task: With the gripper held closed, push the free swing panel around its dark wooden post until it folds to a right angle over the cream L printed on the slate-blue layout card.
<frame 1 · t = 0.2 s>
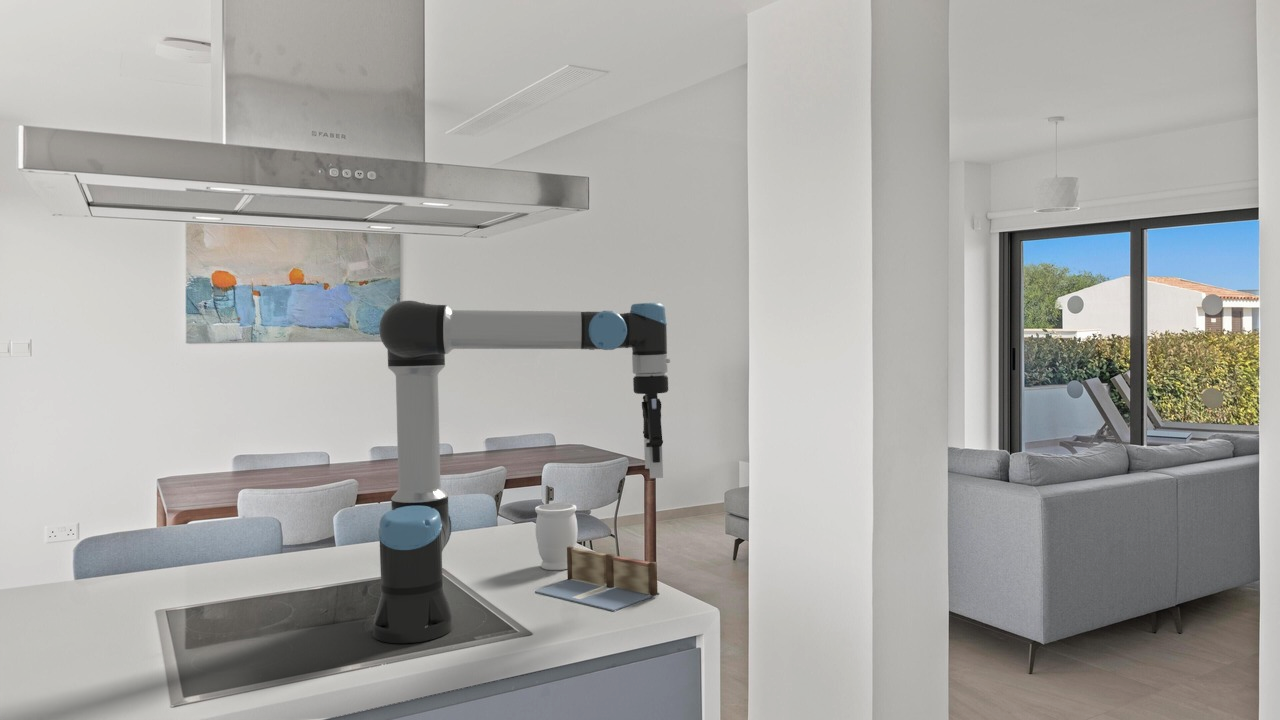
hand: (653, 473, 188), 27 cm above the counter, fingers open, 13 cm apart
jar: (557, 567, 217), on the counter
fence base: (610, 587, 197), resting on layout card
swing panel: (635, 574, 192), point 4 cm above the counter, hinge at 0.0°
layout card: (610, 587, 197), on the counter
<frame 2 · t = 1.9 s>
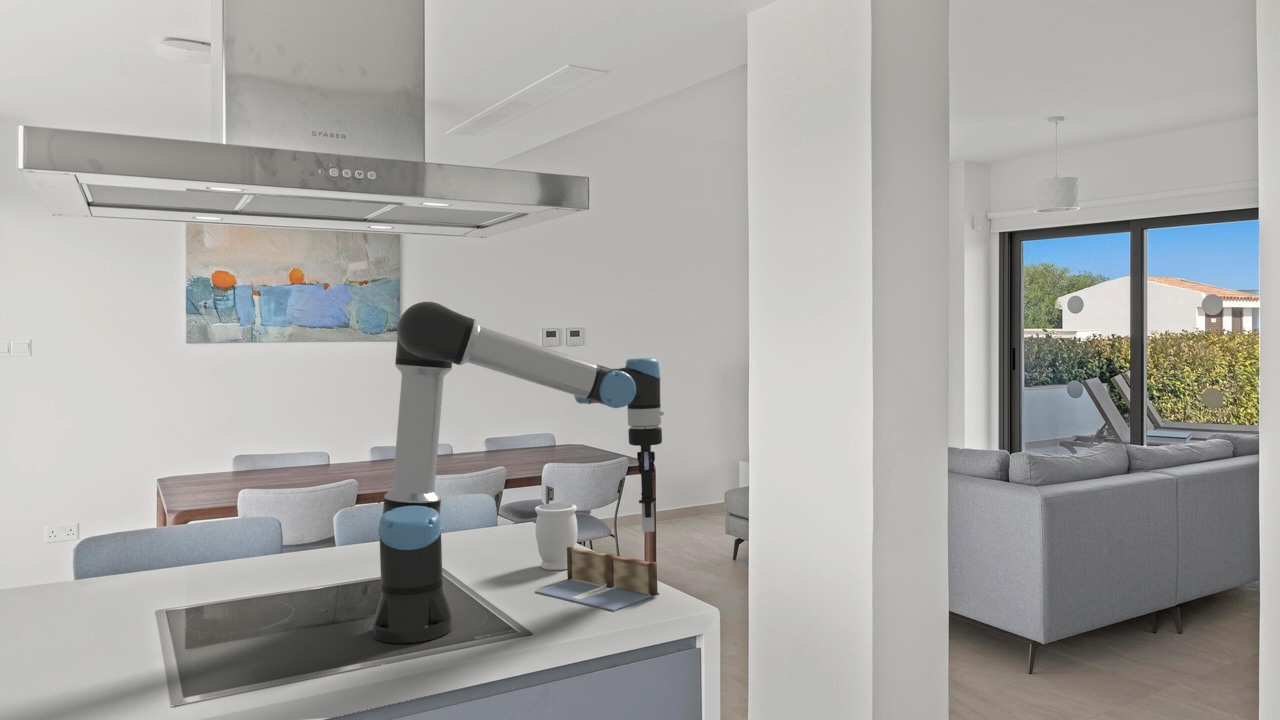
hand: (648, 530, 197), 13 cm above the counter, fingers closed
nothing on the counter moved.
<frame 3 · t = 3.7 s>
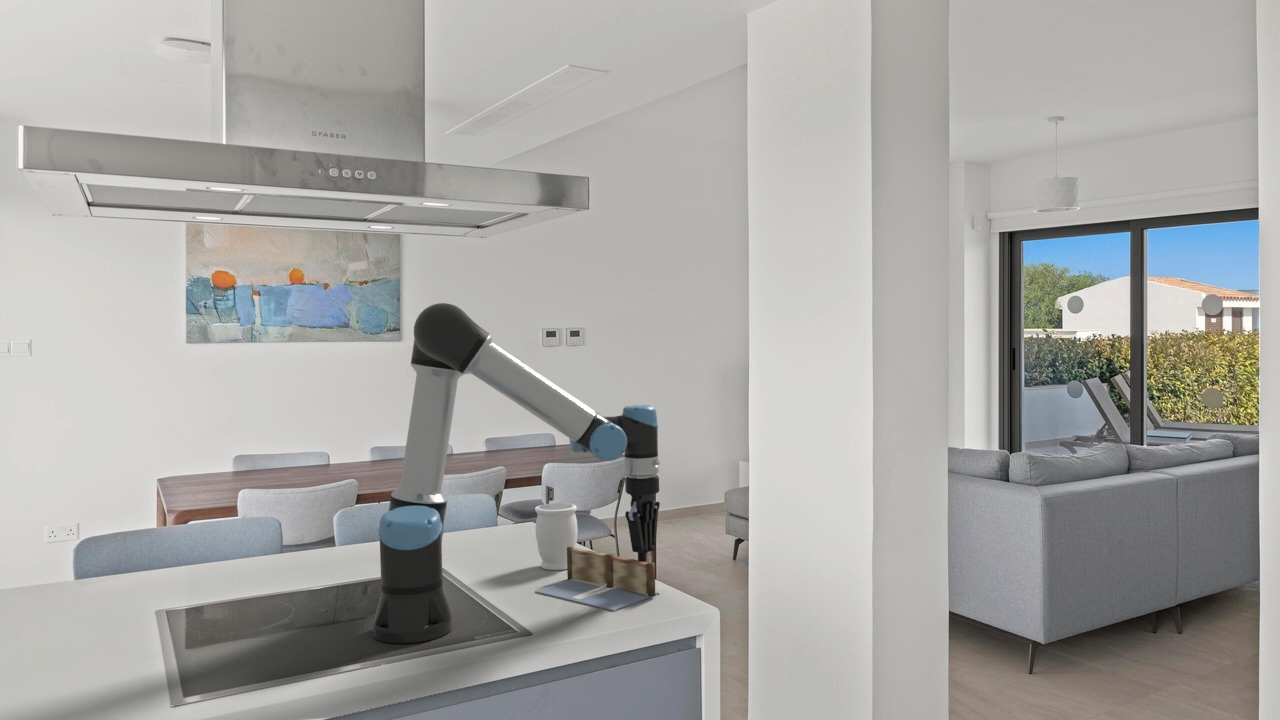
hand: (645, 580, 194), 2 cm above the counter, fingers closed
swing panel: (634, 575, 192), point 4 cm above the counter, hinge at -3.4°, touching gripper
everything else where it was.
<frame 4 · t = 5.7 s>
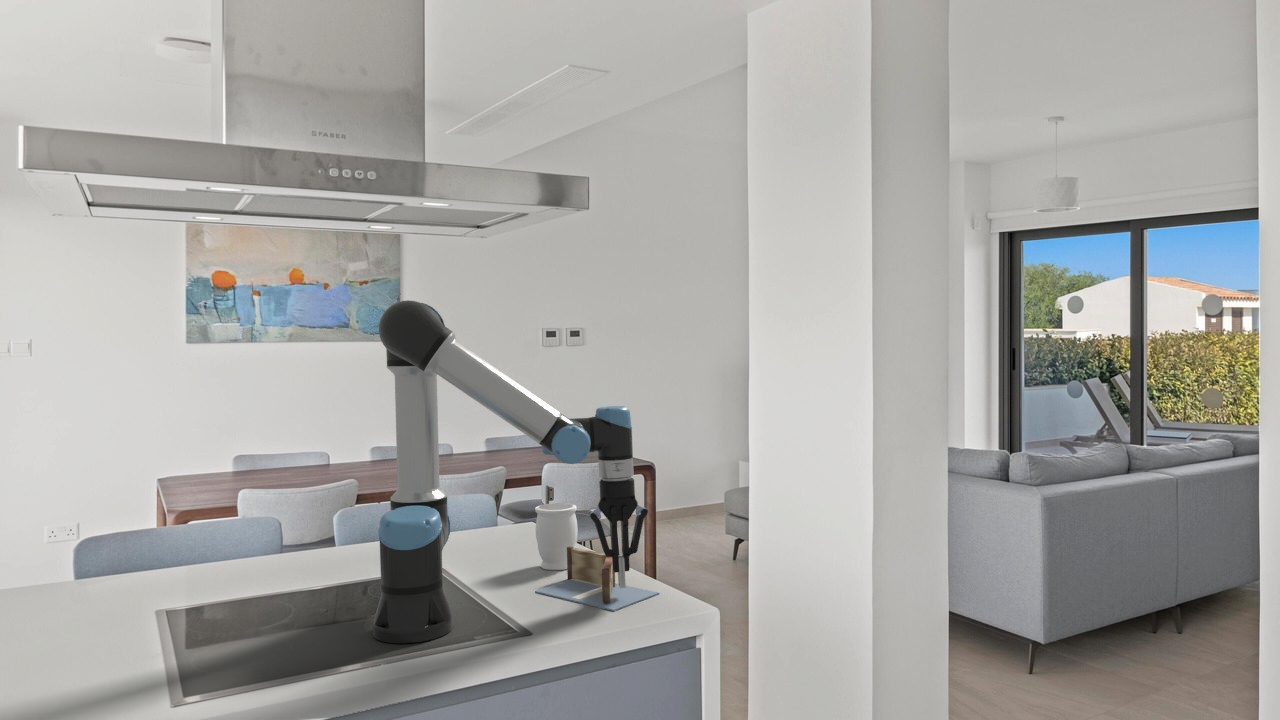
hand: (622, 586, 189), 3 cm above the counter, fingers closed
swing panel: (607, 578, 189), point 4 cm above the counter, hinge at -52.8°, touching gripper
everything else where it was.
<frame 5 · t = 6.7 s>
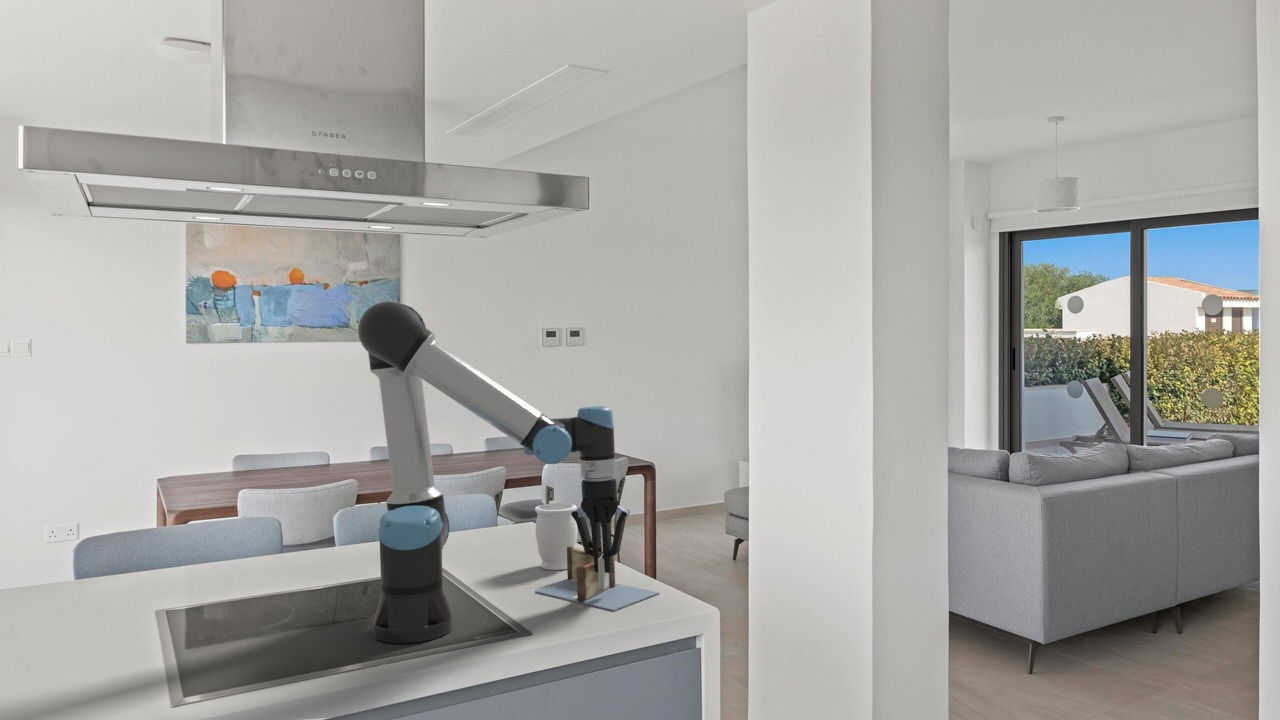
hand: (604, 587, 188), 3 cm above the counter, fingers closed
swing panel: (593, 578, 190), point 4 cm above the counter, hinge at -78.6°, touching gripper
everything else where it was.
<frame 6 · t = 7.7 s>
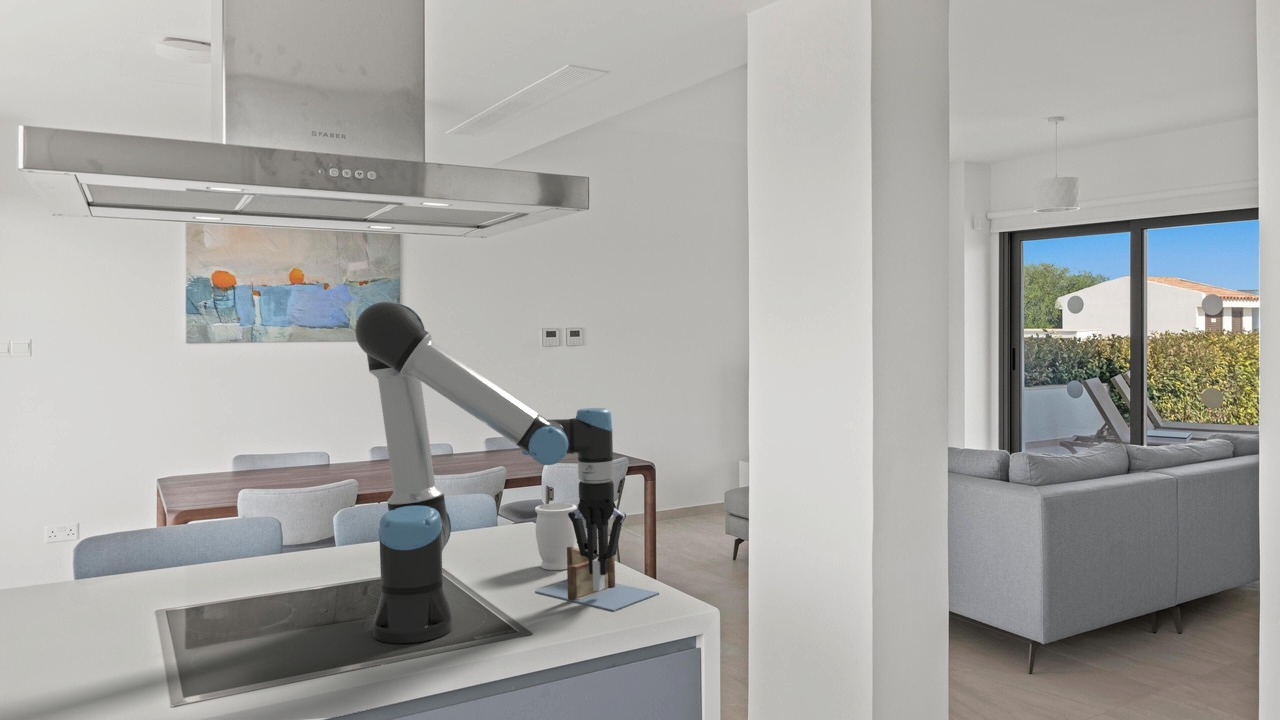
hand: (599, 589, 188), 2 cm above the counter, fingers closed
swing panel: (587, 577, 191), point 4 cm above the counter, hinge at -90.6°
everything else where it was.
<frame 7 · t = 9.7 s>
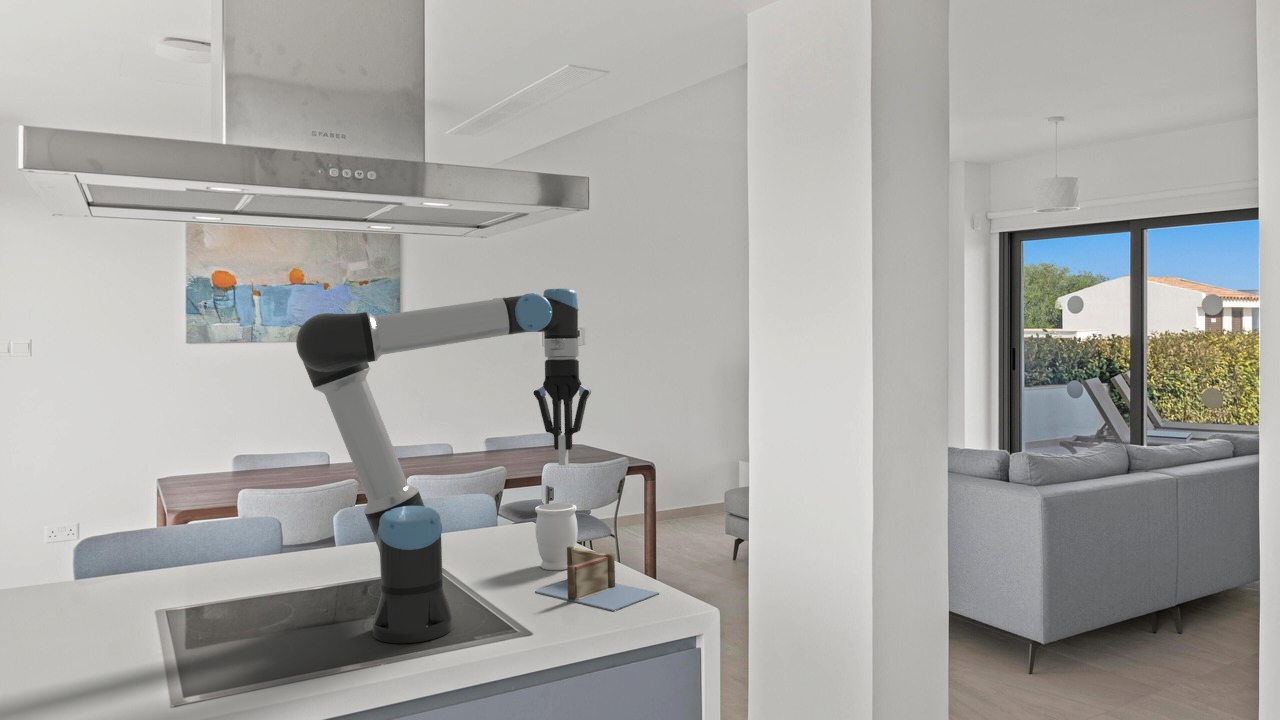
hand: (563, 464, 194), 29 cm above the counter, fingers closed
nothing on the counter moved.
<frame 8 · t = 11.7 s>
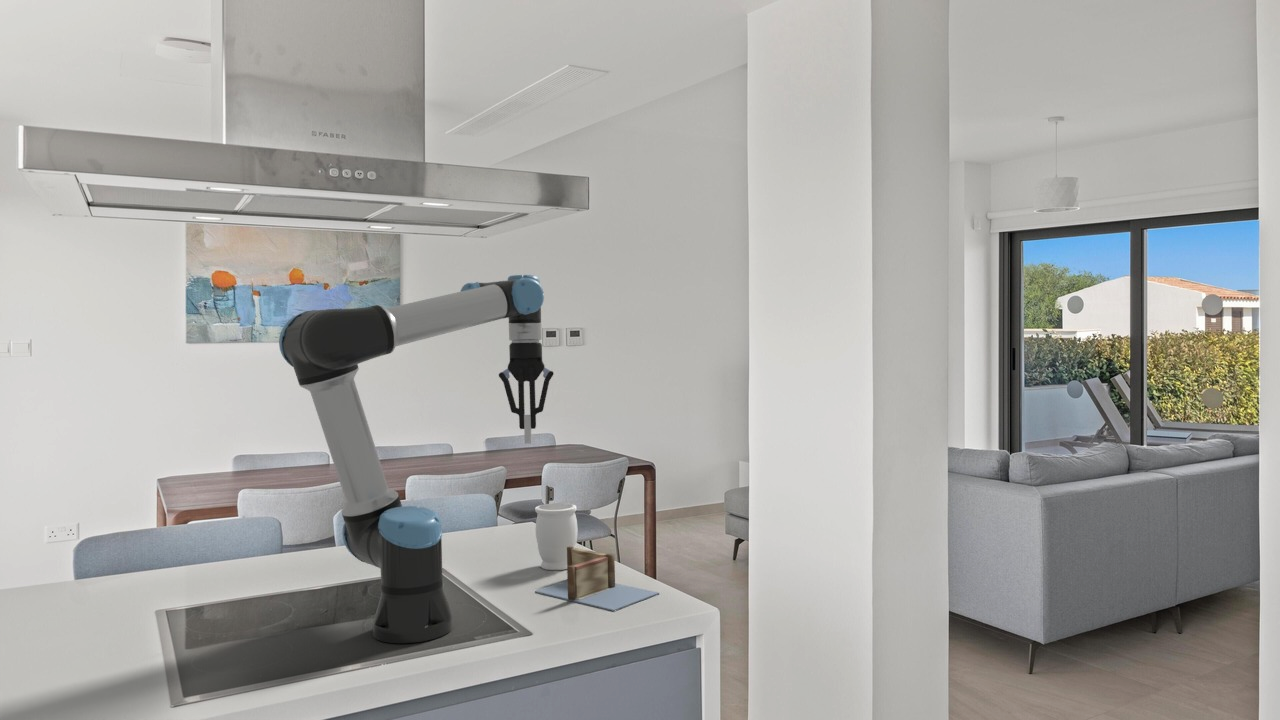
hand: (528, 442, 204), 32 cm above the counter, fingers closed
nothing on the counter moved.
at the end: swing panel at -91° (first picture: +0°) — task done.
